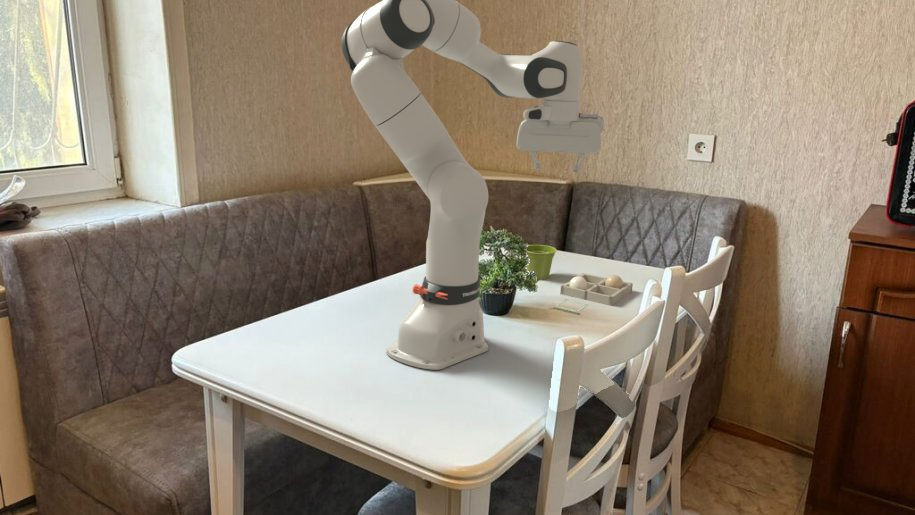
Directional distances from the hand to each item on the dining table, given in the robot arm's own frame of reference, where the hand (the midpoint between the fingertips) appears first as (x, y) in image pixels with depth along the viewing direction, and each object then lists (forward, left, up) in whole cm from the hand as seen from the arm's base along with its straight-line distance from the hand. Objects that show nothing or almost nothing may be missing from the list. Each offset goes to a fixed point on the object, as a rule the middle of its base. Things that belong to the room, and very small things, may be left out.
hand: (556, 170), depth 167 cm
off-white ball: (+7, -6, -32) cm, 33 cm away
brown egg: (+13, -12, -32) cm, 37 cm away
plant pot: (+13, +10, -33) cm, 37 cm away
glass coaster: (-3, -8, -33) cm, 34 cm away
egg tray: (+10, -9, -33) cm, 36 cm away
